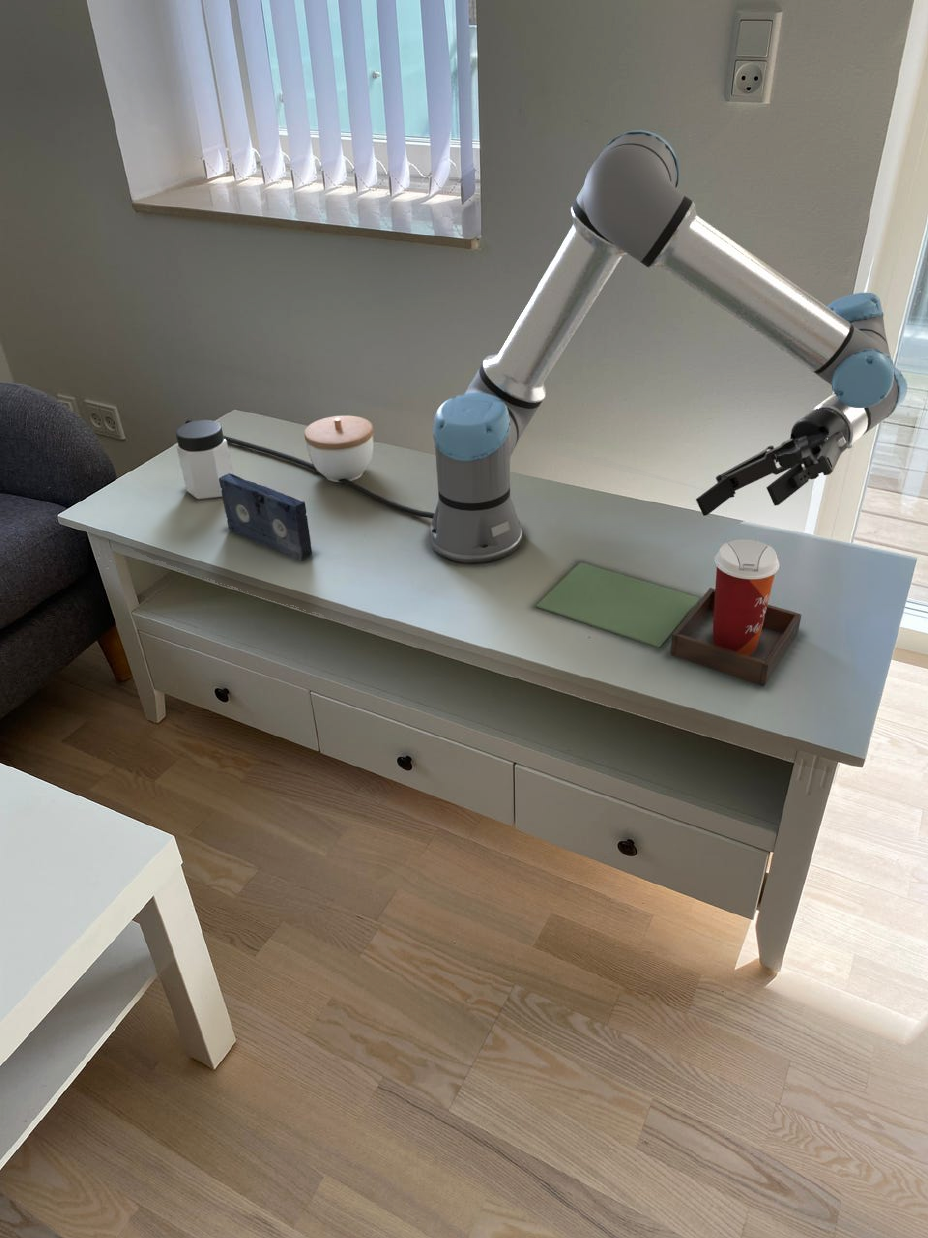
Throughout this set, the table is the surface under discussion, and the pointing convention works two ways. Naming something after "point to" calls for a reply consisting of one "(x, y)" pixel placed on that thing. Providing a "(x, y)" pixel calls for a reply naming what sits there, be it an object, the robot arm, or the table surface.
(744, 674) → the crate
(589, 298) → the robot arm
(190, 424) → the jar
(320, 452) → the lidded bowl
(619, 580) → the mat
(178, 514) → the table surface
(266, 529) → the vhs cassette tape
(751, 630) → the coffee cup
